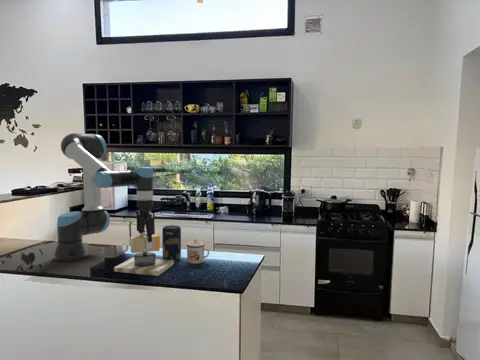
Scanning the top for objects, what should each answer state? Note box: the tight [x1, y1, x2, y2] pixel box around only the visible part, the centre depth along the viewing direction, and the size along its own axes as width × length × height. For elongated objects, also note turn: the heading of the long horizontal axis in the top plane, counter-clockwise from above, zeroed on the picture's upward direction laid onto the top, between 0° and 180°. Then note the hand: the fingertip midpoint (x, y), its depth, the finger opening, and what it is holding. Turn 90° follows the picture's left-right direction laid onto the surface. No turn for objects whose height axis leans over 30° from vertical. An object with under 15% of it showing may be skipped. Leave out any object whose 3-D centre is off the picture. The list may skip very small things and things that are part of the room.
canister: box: [162, 224, 182, 261], centre depth 198 cm, size 10×10×18 cm
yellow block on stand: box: [129, 234, 161, 266], centre depth 182 cm, size 13×10×13 cm
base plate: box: [113, 256, 175, 277], centre depth 182 cm, size 22×18×2 cm
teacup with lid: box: [186, 238, 210, 264], centre depth 194 cm, size 12×9×12 cm
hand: (145, 247), depth 182 cm, fingers closed on yellow block on stand, 5 cm apart
